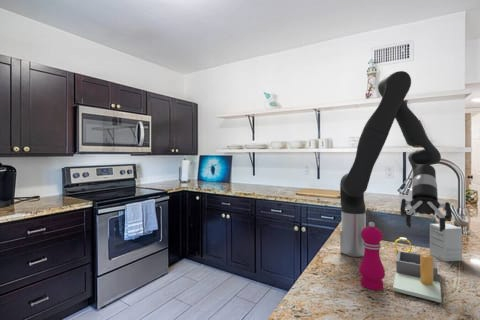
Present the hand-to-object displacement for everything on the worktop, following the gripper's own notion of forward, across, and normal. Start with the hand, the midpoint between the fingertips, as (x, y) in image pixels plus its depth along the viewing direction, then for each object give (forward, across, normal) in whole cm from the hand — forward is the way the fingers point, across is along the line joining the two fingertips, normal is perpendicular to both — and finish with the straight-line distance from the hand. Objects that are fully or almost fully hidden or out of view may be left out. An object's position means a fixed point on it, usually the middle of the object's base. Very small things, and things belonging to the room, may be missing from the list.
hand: (425, 228), depth 86 cm
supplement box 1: (-72, -7, +95) cm, 119 cm away
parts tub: (+10, -2, +13) cm, 17 cm away
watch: (-4, -7, +27) cm, 28 cm away
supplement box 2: (-5, +7, +28) cm, 30 cm away
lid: (+20, -2, +4) cm, 20 cm away
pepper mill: (+23, -14, +1) cm, 27 cm away
